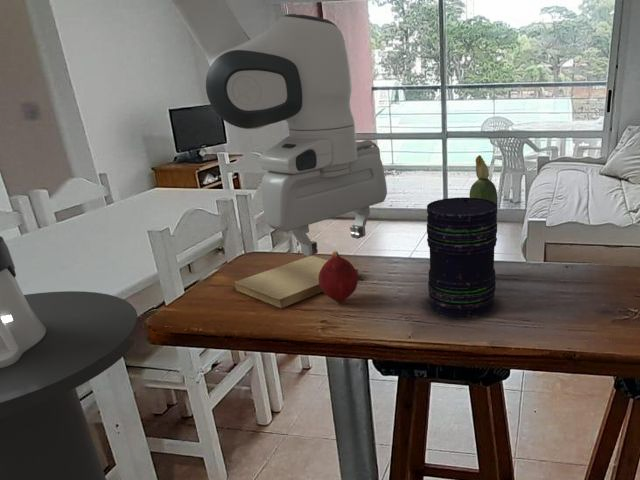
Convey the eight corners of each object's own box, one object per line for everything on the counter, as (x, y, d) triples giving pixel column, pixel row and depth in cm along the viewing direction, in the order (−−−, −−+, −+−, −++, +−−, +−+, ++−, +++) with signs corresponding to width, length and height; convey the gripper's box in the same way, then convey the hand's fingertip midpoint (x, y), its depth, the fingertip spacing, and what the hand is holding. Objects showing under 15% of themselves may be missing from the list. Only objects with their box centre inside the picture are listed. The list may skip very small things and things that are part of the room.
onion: (367, 301, 87) (363, 251, 84) (336, 313, 84) (331, 261, 80) (343, 291, 91) (339, 243, 88) (313, 302, 87) (307, 252, 84)
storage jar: (490, 322, 79) (492, 216, 73) (421, 316, 81) (418, 213, 75) (499, 294, 88) (502, 198, 82) (436, 290, 90) (434, 196, 84)
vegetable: (485, 271, 97) (487, 150, 89) (501, 278, 94) (505, 154, 85) (463, 276, 95) (464, 153, 87) (479, 284, 92) (481, 157, 83)
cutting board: (281, 308, 86) (279, 299, 85) (236, 290, 93) (234, 281, 92) (358, 277, 97) (357, 268, 96) (312, 263, 104) (311, 255, 103)
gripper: (362, 136, 87) (370, 225, 93) (248, 158, 73) (265, 260, 79) (393, 139, 83) (398, 231, 89) (278, 162, 69) (293, 269, 75)
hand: (335, 245), depth 84 cm, fingers open, 8 cm apart
